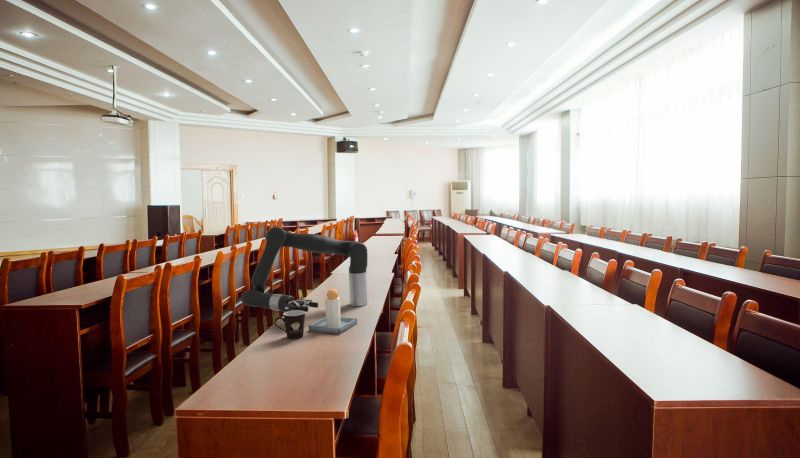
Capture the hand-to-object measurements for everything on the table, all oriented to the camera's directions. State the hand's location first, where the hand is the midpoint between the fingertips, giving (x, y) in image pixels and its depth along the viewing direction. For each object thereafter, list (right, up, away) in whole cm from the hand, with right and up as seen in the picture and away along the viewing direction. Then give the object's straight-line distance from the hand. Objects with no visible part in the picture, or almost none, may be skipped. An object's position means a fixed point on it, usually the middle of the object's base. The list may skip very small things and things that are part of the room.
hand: (313, 307), depth 198 cm
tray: (+10, -8, -4) cm, 13 cm away
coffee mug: (-6, -9, -16) cm, 20 cm away
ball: (+10, +6, -5) cm, 13 cm away
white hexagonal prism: (+10, -7, -4) cm, 13 cm away
